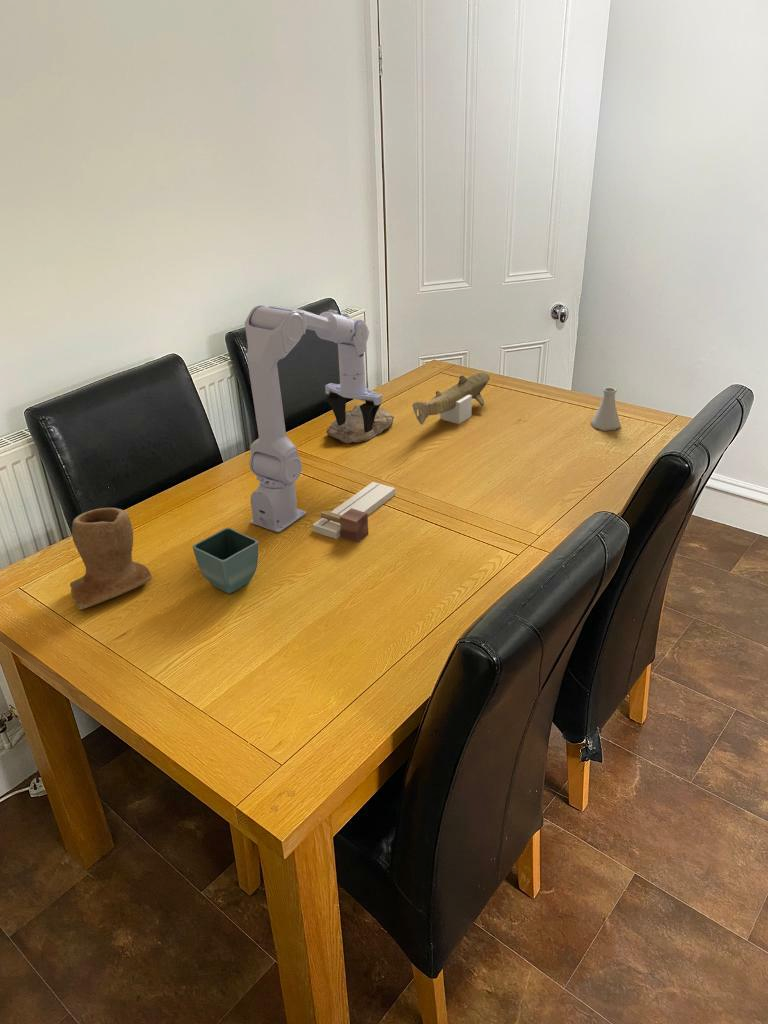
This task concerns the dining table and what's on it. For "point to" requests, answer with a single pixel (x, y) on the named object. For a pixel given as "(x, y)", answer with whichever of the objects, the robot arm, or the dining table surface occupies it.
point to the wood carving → (454, 400)
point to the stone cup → (105, 557)
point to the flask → (607, 412)
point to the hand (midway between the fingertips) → (354, 427)
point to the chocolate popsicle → (350, 524)
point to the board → (356, 507)
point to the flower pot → (227, 559)
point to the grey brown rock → (359, 426)
